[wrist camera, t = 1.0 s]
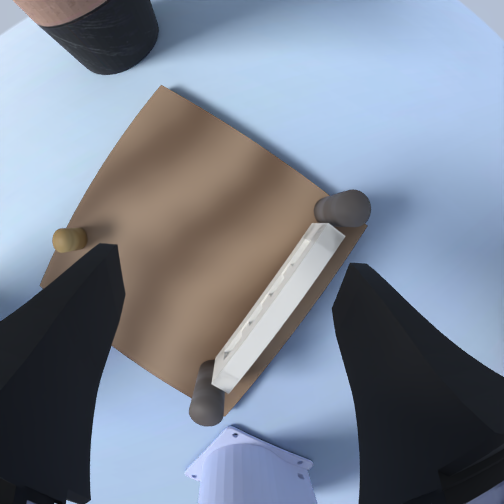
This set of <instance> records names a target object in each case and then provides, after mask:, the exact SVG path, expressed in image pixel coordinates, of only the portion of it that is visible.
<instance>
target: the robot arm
mask: <svg viewBox="0 0 504 504" xmlns="http://www.w3.org/2000/svg"><path fill="white" fill-rule="evenodd" d="M125 295H126V293H125V288H124V282H123V276H122V270H121V264H120V258H119V251H118V244H107V243H99V244H98V245H96V246H95V247H93V248H92V249H91V250H90V251H88V252H87V253H86V254H85V255H84V256H82V257H81V258H80V259H79V260H78V261H76V262H75V263H74V264H73V265H72V266H70V267H69V268H68V269H67V270H66V271H64V272H63V273H62V274H61V275H60V276H59V277H57V278H56V279H55V280H54V281H53V282H51V283H50V284H49V285H48V286H46V287H45V288H44V289H43V290H41V291H40V292H39V293H38V294H37V295H35V296H34V297H33V298H32V299H30V300H29V301H28V302H27V303H25V304H24V305H23V306H21V307H20V308H19V309H17V310H16V311H15V312H13V313H12V314H10V315H9V316H8V317H6V318H5V319H3V320H2V321H0V504H54V503H56V504H66V500H68V501H71V502H74V503H77V504H86V503H87V502H89V501H90V500H91V495H90V448H91V435H92V425H93V416H94V410H95V403H96V397H97V391H98V387H99V383H100V379H101V376H102V373H103V370H104V367H105V363H106V360H107V357H108V354H109V351H110V348H111V345H112V342H113V339H114V336H115V334H116V331H117V328H118V325H119V322H120V317H121V313H122V309H123V304H124V300H125ZM332 313H333V320H334V327H335V333H336V337H337V341H338V345H339V348H340V352H341V355H342V359H343V362H344V366H345V369H346V373H347V376H348V380H349V383H350V387H351V391H352V395H353V400H354V405H355V412H356V419H357V427H358V439H359V452H360V490H359V504H504V377H503V376H501V375H499V374H498V373H496V372H494V371H493V370H491V369H489V368H488V367H486V366H485V365H483V364H482V363H480V362H479V361H477V360H476V359H475V358H473V357H472V356H470V355H469V354H467V353H466V352H465V351H463V350H462V349H461V348H459V347H458V346H457V345H456V344H454V343H453V342H452V341H451V340H449V339H448V338H447V337H446V336H444V335H443V334H442V333H441V332H440V331H439V330H437V329H436V328H435V327H434V326H433V325H432V324H431V323H430V322H429V321H428V320H426V319H425V318H424V317H423V316H422V315H421V314H420V313H419V312H418V311H417V310H416V309H415V308H414V307H412V306H411V305H410V304H409V303H408V302H407V301H406V300H405V299H404V298H403V297H402V296H401V295H400V294H399V293H398V292H397V291H396V290H395V289H394V288H393V287H392V286H391V285H390V284H389V283H388V282H387V281H386V280H385V279H384V278H382V277H381V276H380V275H379V274H378V273H377V272H376V271H375V270H374V269H372V268H371V267H370V266H369V265H367V264H362V263H350V264H349V266H348V269H347V272H346V274H345V277H344V279H343V282H342V284H341V287H340V290H339V292H338V294H337V297H336V299H335V302H334V304H333V307H332ZM234 433H237V435H234ZM299 461H301V462H299ZM312 466H313V462H312V461H311V460H309V459H306V458H303V457H301V456H298V455H296V454H293V453H291V452H288V451H286V450H283V449H281V448H278V447H276V446H274V445H271V444H269V443H267V442H265V441H262V440H260V439H258V438H256V437H254V436H252V435H249V434H247V433H245V432H243V431H241V430H239V429H237V428H235V427H232V426H228V427H226V428H225V429H224V430H223V431H222V432H221V433H220V435H219V436H218V437H217V438H216V439H215V440H214V441H213V442H212V443H211V444H210V445H209V446H208V447H207V448H206V449H205V451H204V452H203V453H202V454H201V455H200V456H199V457H198V458H197V459H196V460H195V461H194V462H193V463H192V464H191V465H190V466H189V467H188V468H187V469H186V470H185V475H186V476H188V477H190V478H192V479H194V480H196V481H199V482H200V490H199V498H198V504H317V500H316V497H315V493H314V490H313V487H312V483H311V480H310V476H309V473H308V470H309V469H310V468H311V467H312Z"/></svg>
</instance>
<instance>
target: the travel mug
mask: <svg viewBox="0 0 504 504" xmlns="http://www.w3.org/2000/svg"><path fill="white" fill-rule="evenodd" d="M13 1H14V2H15V3H16V4H17V5H18V6H19V7H20V8H21V9H22V10H23V11H24V12H25V13H26V14H27V15H28V16H29V17H30V18H31V19H32V20H33V21H34V22H35V23H37V24H38V25H39V26H40V27H41V28H42V29H43V30H44V31H45V32H47V33H48V34H49V35H50V36H51V37H52V38H53V39H54V40H56V41H57V42H58V43H59V44H60V45H61V46H62V47H64V48H65V49H66V50H67V51H68V52H69V53H70V54H71V55H72V56H74V57H75V58H76V59H77V60H78V61H79V62H80V63H81V64H83V65H84V66H85V67H86V68H87V69H89V70H90V71H92V72H94V73H97V74H101V75H110V74H116V73H119V72H122V71H125V70H127V69H129V68H131V67H133V66H134V65H136V64H137V63H139V62H140V61H141V60H142V59H143V58H145V57H146V56H147V54H148V53H149V52H150V51H151V50H152V48H153V47H154V45H155V43H156V40H157V37H158V24H157V20H156V17H155V14H154V11H153V8H152V5H151V2H150V0H13Z"/></svg>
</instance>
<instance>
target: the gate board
mask: <svg viewBox="0 0 504 504" xmlns="http://www.w3.org/2000/svg"><path fill="white" fill-rule="evenodd" d="M370 213H371V205H370V202H369V200H368V198H367V196H366V195H365V194H364V193H362V192H360V191H358V190H348V191H344V192H341V193H337V194H334V195H331V196H330V195H328V194H327V193H326V192H324V191H323V190H322V189H320V188H319V187H318V186H316V185H315V184H314V183H312V182H311V181H310V180H308V179H307V178H306V177H304V176H303V175H302V174H300V173H299V172H297V171H296V170H295V169H293V168H292V167H290V166H289V165H288V164H286V163H285V162H283V161H282V160H280V159H279V158H278V157H276V156H275V155H273V154H272V153H270V152H269V151H267V150H266V149H265V148H263V147H262V146H260V145H259V144H257V143H256V142H254V141H253V140H251V139H250V138H248V137H247V136H245V135H244V134H242V133H240V132H239V131H237V130H236V129H234V128H233V127H231V126H230V125H228V124H226V123H225V122H223V121H222V120H220V119H218V118H217V117H215V116H214V115H212V114H210V113H209V112H207V111H205V110H204V109H202V108H201V107H199V106H197V105H195V104H194V103H192V102H190V101H189V100H187V99H185V98H184V97H182V96H180V95H178V94H177V93H175V92H173V91H171V90H170V89H168V88H166V87H164V86H162V85H161V86H160V87H159V88H158V89H157V91H156V92H155V93H154V94H153V95H152V97H151V98H150V99H149V100H148V102H147V103H146V104H145V106H144V107H143V108H142V109H141V111H140V112H139V113H138V115H137V116H136V117H135V119H134V120H133V121H132V123H131V124H130V125H129V127H128V128H127V130H126V131H125V132H124V134H123V135H122V137H121V138H120V140H119V141H118V142H117V144H116V145H115V147H114V148H113V150H112V151H111V153H110V154H109V156H108V157H107V159H106V160H105V162H104V163H103V165H102V167H101V168H100V170H99V171H98V173H97V175H96V176H95V178H94V179H93V181H92V183H91V184H90V186H89V188H88V189H87V191H86V193H85V195H84V196H83V198H82V200H81V202H80V203H79V205H78V207H77V209H76V211H75V212H74V214H73V216H72V218H71V220H70V222H69V224H68V226H67V228H63V229H58V230H57V231H56V232H55V233H54V235H53V239H52V242H53V246H54V248H55V252H54V254H53V256H52V258H51V260H50V263H49V265H48V267H47V269H46V272H45V274H44V276H43V279H42V281H41V283H40V286H41V287H42V288H43V289H44V288H45V287H46V286H48V285H49V284H50V283H51V282H53V281H54V280H55V279H56V278H57V277H59V276H60V275H61V274H62V273H63V272H64V271H66V270H67V269H68V268H69V267H70V266H72V265H73V264H74V263H75V262H76V261H78V260H79V259H80V258H81V257H82V256H84V255H85V254H86V253H87V252H88V251H90V250H91V249H92V248H93V247H95V246H96V245H98V244H99V243H107V244H118V251H119V258H120V264H121V270H122V276H123V282H124V288H125V293H126V295H125V300H124V304H123V309H122V313H121V317H120V322H119V325H118V328H117V331H116V334H115V336H114V339H113V342H112V345H111V346H113V347H114V348H116V349H117V350H118V351H120V352H121V353H122V354H124V355H125V356H127V357H128V358H129V359H131V360H132V361H134V362H135V363H137V364H138V365H140V366H141V367H143V368H144V369H146V370H147V371H149V372H150V373H152V374H153V375H155V376H156V377H158V378H159V379H161V380H162V381H164V382H166V383H167V384H169V385H170V386H172V387H174V388H175V389H177V390H179V391H180V392H182V393H184V394H185V395H187V396H189V397H190V398H192V400H191V404H190V408H189V415H190V417H191V419H192V420H193V421H194V422H196V423H197V424H199V425H202V426H214V425H217V424H218V423H220V422H221V421H222V419H223V416H226V415H227V414H228V412H229V411H230V410H231V409H232V408H233V407H234V406H235V404H236V403H237V402H238V401H239V400H240V399H241V397H242V396H243V395H244V394H245V393H246V391H247V390H248V389H249V388H250V387H251V385H252V384H253V383H254V382H255V381H256V379H257V378H258V377H259V376H260V374H261V373H262V372H263V371H264V369H265V368H266V367H267V366H268V364H269V363H270V362H271V361H272V359H273V358H274V357H275V356H276V354H277V353H278V352H279V351H280V349H281V348H282V347H283V345H284V344H285V343H286V342H287V340H288V339H289V338H290V336H291V335H292V334H293V332H294V331H295V330H296V328H297V327H298V326H299V324H300V323H301V322H302V320H303V319H304V318H305V316H306V315H307V314H308V312H309V311H310V310H311V308H312V307H313V305H314V304H315V303H316V301H317V300H318V298H319V297H320V296H321V294H322V293H323V291H324V290H325V289H326V287H327V286H328V284H329V283H330V282H331V280H332V279H333V277H334V276H335V274H336V273H337V271H338V270H339V268H340V267H341V266H342V264H343V263H344V261H345V260H346V258H347V257H348V255H349V254H350V252H351V251H352V249H353V248H354V246H355V245H356V243H357V242H358V240H359V238H360V237H361V235H362V234H363V232H364V231H365V229H366V228H367V225H366V224H365V223H366V222H367V220H368V219H369V217H370ZM312 223H329V224H330V225H332V226H333V227H334V228H336V229H337V230H338V231H339V232H341V233H342V234H343V235H345V238H344V239H343V241H342V242H341V244H340V245H339V247H338V248H337V250H336V251H335V253H334V254H333V255H332V257H331V258H330V260H329V261H328V263H327V264H326V266H325V267H324V269H323V270H322V271H321V273H320V274H319V276H318V277H317V279H316V280H315V281H314V283H313V284H312V286H311V287H310V289H309V290H308V291H307V293H306V294H305V296H304V297H303V298H302V300H301V301H300V302H299V304H298V305H297V307H296V308H295V309H294V311H293V312H292V313H291V315H290V316H289V317H288V319H287V320H286V321H285V323H284V324H283V325H282V327H281V328H280V329H279V331H278V332H277V333H276V335H275V336H274V337H273V339H272V340H271V341H270V343H269V344H268V345H267V347H266V348H265V349H264V350H263V352H262V353H261V354H260V356H259V357H258V358H257V359H256V361H255V362H254V363H253V364H252V366H251V367H250V368H249V370H248V371H247V372H246V373H245V375H244V376H243V377H242V378H241V379H240V381H239V382H238V383H237V384H236V386H235V387H234V388H233V389H232V391H231V392H230V393H229V394H228V393H226V392H224V391H223V390H221V389H219V388H217V387H216V386H214V385H212V384H211V383H212V377H213V370H214V364H215V358H216V356H217V355H218V354H219V352H220V351H221V350H222V348H223V347H224V346H225V344H226V343H227V342H228V340H229V339H230V338H231V336H232V335H233V333H234V332H235V331H236V329H237V328H238V327H239V325H240V324H241V323H242V321H243V320H244V318H245V317H246V316H247V314H248V313H249V312H250V310H251V309H252V307H253V306H254V305H255V303H256V302H257V301H258V299H259V298H260V296H261V295H262V294H263V292H264V291H265V289H266V288H267V287H268V285H269V284H270V282H271V281H272V280H273V278H274V277H275V275H276V274H277V273H278V271H279V270H280V268H281V267H282V265H283V264H284V263H285V261H286V260H287V258H288V257H289V255H290V254H291V253H292V251H293V250H294V248H295V247H296V245H297V244H298V243H299V241H300V240H301V238H302V237H303V235H304V234H305V232H306V231H307V230H308V228H309V227H310V225H311V224H312Z"/></svg>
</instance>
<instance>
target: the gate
mask: <svg viewBox="0 0 504 504" xmlns="http://www.w3.org/2000/svg"><path fill="white" fill-rule="evenodd" d="M344 238H345V235H343V234H342V233H341V232H339V231H338V230H337V229H336V228H334V227H333V226H332V225H330V224H329V223H312V224H311V225H310V227H309V228H308V230H307V231H306V232H305V234H304V235H303V237H302V238H301V240H300V241H299V243H298V244H297V245H296V247H295V248H294V250H293V251H292V253H291V254H290V255H289V257H288V258H287V260H286V261H285V263H284V264H283V265H282V267H281V268H280V270H279V271H278V273H277V274H276V275H275V277H274V278H273V280H272V281H271V282H270V284H269V285H268V287H267V288H266V289H265V291H264V292H263V294H262V295H261V296H260V298H259V299H258V301H257V302H256V303H255V305H254V306H253V307H252V309H251V310H250V312H249V313H248V314H247V316H246V317H245V318H244V320H243V321H242V323H241V324H240V325H239V327H238V328H237V329H236V331H235V332H234V333H233V335H232V336H231V338H230V339H229V340H228V342H227V343H226V344H225V346H224V347H223V348H222V350H221V351H220V352H219V354H218V355H217V356H216V358H215V364H214V370H213V377H212V383H211V384H212V385H214V386H216V387H217V388H219V389H221V390H223V391H224V392H226V393H228V394H229V393H230V392H231V391H232V389H233V388H234V387H235V386H236V384H237V383H238V382H239V381H240V379H241V378H242V377H243V376H244V375H245V373H246V372H247V371H248V370H249V368H250V367H251V366H252V364H253V363H254V362H255V361H256V359H257V358H258V357H259V356H260V354H261V353H262V352H263V350H264V349H265V348H266V347H267V345H268V344H269V343H270V341H271V340H272V339H273V337H274V336H275V335H276V333H277V332H278V331H279V329H280V328H281V327H282V325H283V324H284V323H285V321H286V320H287V319H288V317H289V316H290V315H291V313H292V312H293V311H294V309H295V308H296V307H297V305H298V304H299V302H300V301H301V300H302V298H303V297H304V296H305V294H306V293H307V291H308V290H309V289H310V287H311V286H312V284H313V283H314V281H315V280H316V279H317V277H318V276H319V274H320V273H321V271H322V270H323V269H324V267H325V266H326V264H327V263H328V261H329V260H330V258H331V257H332V255H333V254H334V253H335V251H336V250H337V248H338V247H339V245H340V244H341V242H342V241H343V239H344Z"/></svg>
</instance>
